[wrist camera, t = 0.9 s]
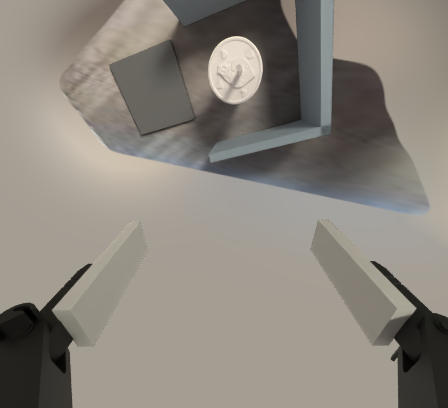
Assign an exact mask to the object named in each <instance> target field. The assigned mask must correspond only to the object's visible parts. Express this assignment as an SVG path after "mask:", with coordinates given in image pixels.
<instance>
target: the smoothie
mask: <svg viewBox="0 0 448 408" xmlns="http://www.w3.org/2000/svg"><path fill="white" fill-rule="evenodd" d="M262 72H263V66H262V59H261V56H260V53H259V51H258V49H257V48H256V46H255V45H254V44H253V43H252V42H251V41H249V40H248V39H246V38H244V37H239V36H233V37H229V38H227V39H225V40H223V41H222V42H220V43H219V44H218V45H217V47H216V48H215V49H214V51H213V53H212V55H211V57H210V60H209V65H208V78H209V83H210V86H211V88H212V90H213V92H214V93H215V95H216V96H217V97H218V98H219V99H220V100H222V101H223V102H225V103H228V104H240V103H244V102H245V101H247V100H249V99H250V98H251V97H252V96H253V95H254V94H255V92H256V91H257V89H258V87H259V85H260V82H261V79H262Z"/></svg>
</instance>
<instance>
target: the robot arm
mask: <svg viewBox="0 0 448 408" xmlns="http://www.w3.org/2000/svg"><path fill="white" fill-rule="evenodd" d="M147 251H148V249H147V245H146V242H145V238H144V234H143V230H142V226H141V223H140V222H129V224H128V225H127V226H126V227H125V228H124V229H123V230H122V232H121V233H120V234H119V235H118V236H117V237H116V238H115V239H114V241H113V242H112V243H111V244H110V245H109V246H108V247H107V249H106V250H105V251H104V252H103V253H102V254H101V255H100V256H99V258H98V259H97V260H96V261H95V262H94V263H93V264H87V265H86V266H84V267H83V268H82V269H80V270H79V271H77V273H76V274H75V275H74V276H73V277H72V278H71V280H69V281H68V282H67V283H66V284H65V285H64V287H63V288H61V290H60V291H59V292H58V293H57V294H56V295H55V296H54V297H53V298H52V299H51V300H50V301H49V302H48V303H47V304H46V306H45V307H44V308H43V309H42V310H41V311H40V312H39V310H38V309H37V308H36V306H35V305H34V304H32V303H23V304H19V305H16V306H14V307H12V308H10V309H8V310H6V311H4V312H3V313H2V314H0V408H72V392H71V371H70V370H71V369H70V352H69V349H68V346H69V345H70V343H71V342H72V340H74V342H75V343H76V345H77V346H94V345H95V343H96V341H97V340H98V338H99V336H100V334H101V333H102V331H103V329H104V328H105V326H106V324H107V322H108V320H109V319H110V317H111V315H112V313H113V311H114V310H115V308H116V306H117V304H118V303H119V301H120V299H121V297H122V296H123V294H124V292H125V290H126V289H127V287H128V285H129V283H130V282H131V280H132V278H133V276H134V274H135V272H136V271H137V269H138V267H139V266H140V264H141V262H142V260H143V259H144V257H145V255H146V253H147ZM311 251H312V252H313V254H314V256H315V257H316V259H317V260H318V262H319V263H320V265H321V266H322V268H323V269H324V271H325V273H326V274H327V276H328V277H329V279H330V281H331V282H332V284H333V285H334V286H335V288H336V290H337V291H338V293H339V294H340V296H341V298H342V299H343V301H344V302H345V304H346V306H347V307H348V309H349V310H350V312H351V313H352V315H353V317H354V318H355V320H356V321H357V323H358V324H359V326H360V327H361V329H362V331H363V332H364V334H365V335H366V337H367V338H368V340H369V342H370V343H371V345H389V344H390V343H391V341H392V340H393V339H394V338H395V340H396V341H397V342H398V344H399V345H400V346H399V348H398V349H397V350H396V351H395V353H394V354H393V355H392V357H391V360H392V361H395V359H396V358H397V357H398V408H448V318H447V317H445V316H442V315H440V314H437V313H432V312H431V311H430V310H429V309H428V308H427V307H426V306H425V305H424V304H423V303H422V302H420V301H419V300H418V299H417V298H416V297H415V296H414V295H413V294H412V293H411V292H410V291H409V290H408V289H407V288H406V287H404V285H401V282H399V281H398V280H397V279H396V278H394V276H393V275H392V274H391V273H390V272H389V271H388V270H387V269H386V268H384V267H383V266H381V265H380V264H378V263H377V262H375V261H369V260H368V259H367V258H366V257H365V256H364V255H363V254H362V253H361V252H360V251H359V250H358V249H357V248H356V247H355V246H354V245H353V244H352V243H351V242H350V241H349V240H348V239H347V238H346V237H345V236H344V235H343V234H342V233H341V232H340V231H339V230H338V229H337V228H336V227H335V226H334V225H333V224H332V223H331V222H330V221H329V220H318V223H317V227H316V231H315V235H314V238H313V242H312V246H311Z"/></svg>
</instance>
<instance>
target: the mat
mask: <svg viewBox="0 0 448 408" xmlns="http://www.w3.org/2000/svg"><path fill="white" fill-rule="evenodd" d="M109 66H110V69H111V71H112V73H113V75H114V77H115V79H116V81H117V84H118V86H119V88H120V90H121V92H122V94H123V96H124V99H125V101H126V103H127V105H128V107H129V109H130V111H131V114H132V116H133V118H134V120H135V122H136V124H137V126H138V129H139V131H140V133H141V135H143V134H146V133H149V132H153V131H156V130H159V129H163V128H166V127H169V126H172V125H176V124H179V123H182V122H186V121H189V120H192V119H195V115H194V112H193V109H192V105H191V102H190V99H189V96H188V93H187V89H186V86H185V83H184V80H183V77H182V73H181V70H180V67H179V64H178V61H177V57H176V54H175V51H174V48H173V45H172V41H171V40H168V41H165V42H163V43H160V44H158V45H156V46H153V47H151V48H148V49H146V50H144V51H141V52H139V53H136V54H134V55H132V56H129V57H127V58H124V59H122V60H120V61H117V62H115V63H112V64H110V65H109Z"/></svg>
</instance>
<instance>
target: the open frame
mask: <svg viewBox="0 0 448 408" xmlns="http://www.w3.org/2000/svg"><path fill="white" fill-rule="evenodd" d="M163 1H164V2H165V3H166V4H167V6H168V7H169V8H170V9H171V11H172V12H173V13H174V14H175V16H176V17H177V18H178V19H179V21H180V22H181V23H182V24H183V26H187V25H189V24H191V23H194V22H196V21H198V20H201V19H203V18H205V17H208V16H210V15H212V14H215V13H217V12H219V11H222V10H224V9H227V8H229V7H231V6H234V5H236V4H238V3H241V2H243V1H245V0H163ZM295 5H296V24H297V45H298V65H299V85H300V105H301V120H299V121H295V122H291V123H287V124H284V125H280V126H276V127H272V128H269V129H265V130H261V131H257V132H253V133H250V134H246V135H242V136H238V137H234V138H231V139H227V140H223V141H219V142H216V144H215V145H214V147H213V148H212V150H211V152H210V153H209V159H210V162H211V163H212V162H216V161H220V160H224V159H228V158H232V157H237V156H241V155H245V154H249V153H253V152H257V151H262V150H266V149H270V148H274V147H278V146H282V145H287V144H291V143H295V142H299V141H303V140H307V139H312V138H316V137H320V136H324V135H328V134H331V106H332V66H333V24H334V22H333V21H334V0H295Z"/></svg>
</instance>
